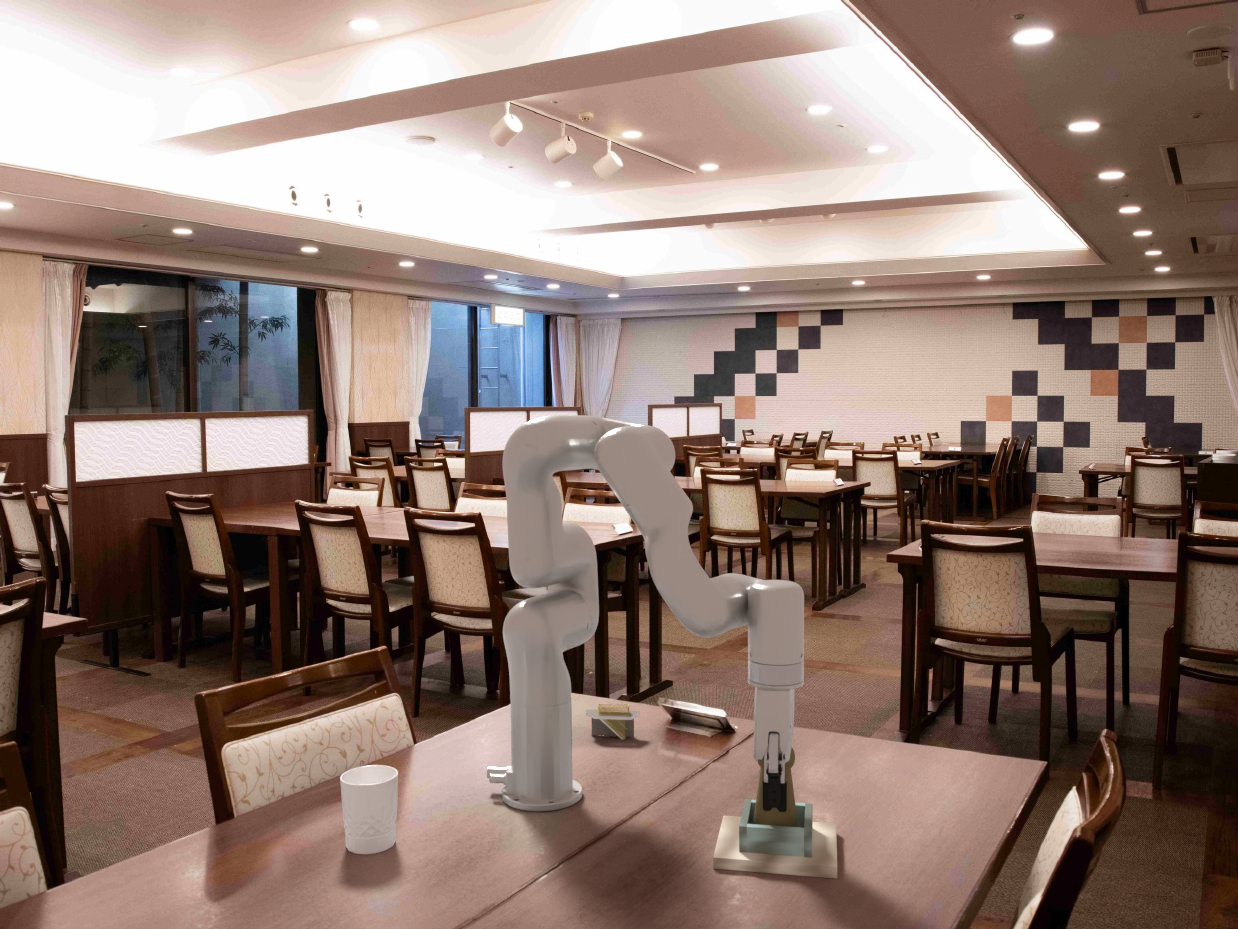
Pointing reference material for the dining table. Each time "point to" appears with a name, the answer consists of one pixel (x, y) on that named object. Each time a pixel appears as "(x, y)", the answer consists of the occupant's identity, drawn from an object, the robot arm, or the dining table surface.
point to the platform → (613, 721)
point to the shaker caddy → (777, 845)
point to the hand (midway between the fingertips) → (775, 803)
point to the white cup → (369, 808)
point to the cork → (774, 815)
